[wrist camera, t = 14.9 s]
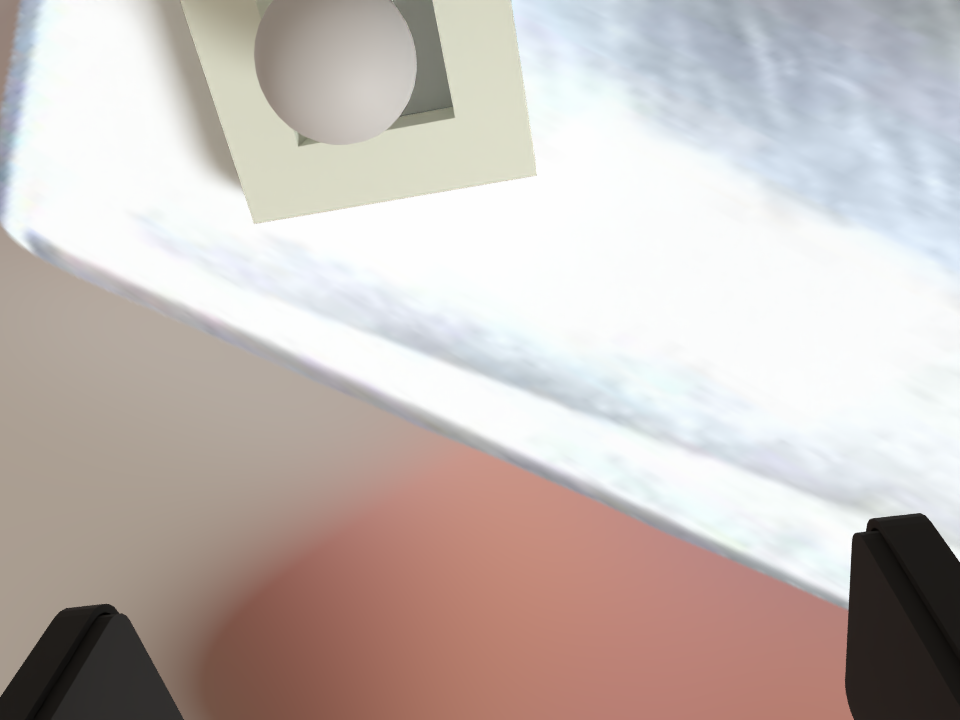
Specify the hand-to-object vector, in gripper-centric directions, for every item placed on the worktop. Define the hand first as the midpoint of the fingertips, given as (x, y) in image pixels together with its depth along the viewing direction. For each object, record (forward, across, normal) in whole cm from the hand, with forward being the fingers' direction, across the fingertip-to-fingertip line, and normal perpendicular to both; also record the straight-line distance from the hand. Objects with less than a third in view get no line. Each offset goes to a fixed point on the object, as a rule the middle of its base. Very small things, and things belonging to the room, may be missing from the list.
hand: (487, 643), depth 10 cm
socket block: (+32, +6, -5) cm, 33 cm away
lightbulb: (+32, +6, -5) cm, 33 cm away
